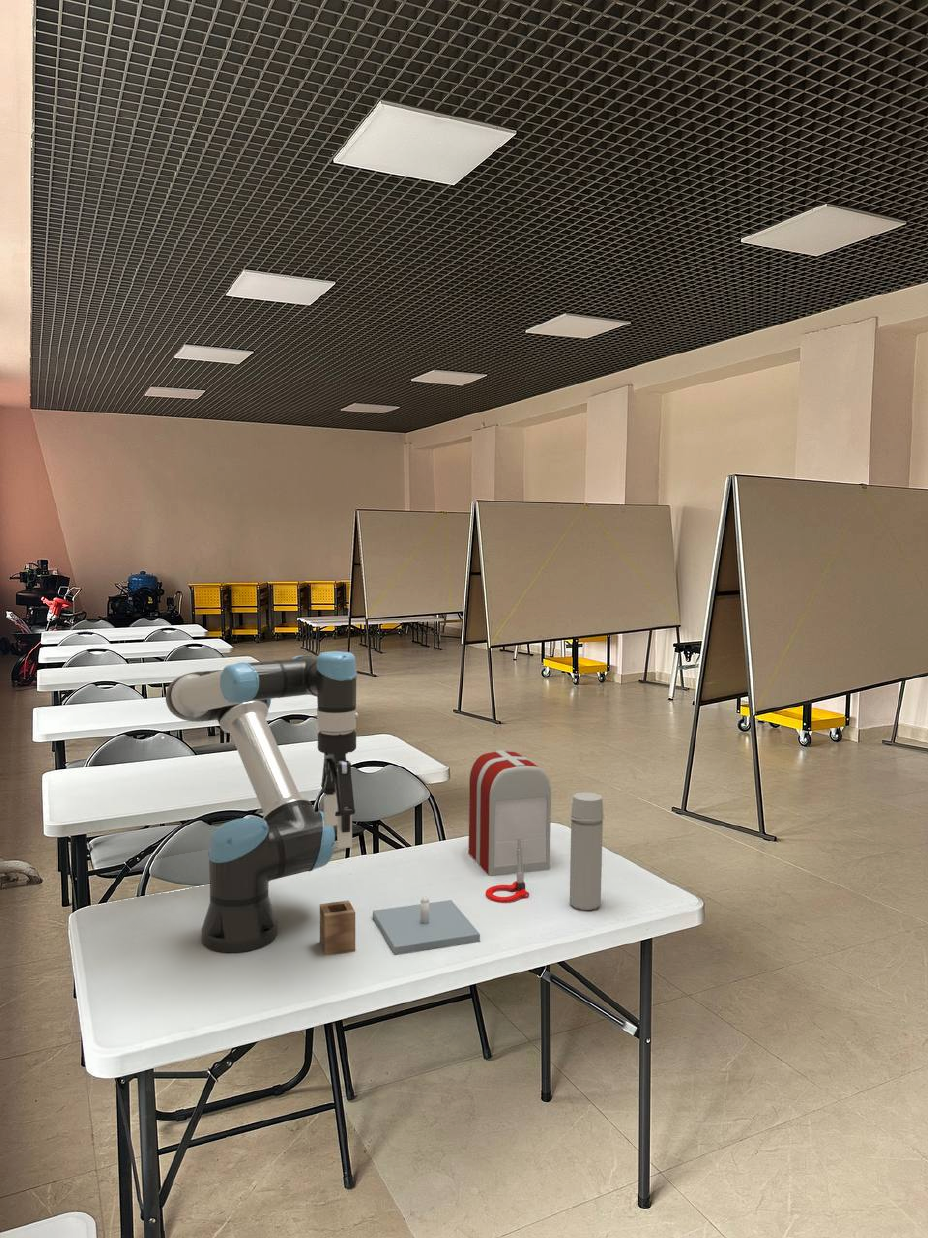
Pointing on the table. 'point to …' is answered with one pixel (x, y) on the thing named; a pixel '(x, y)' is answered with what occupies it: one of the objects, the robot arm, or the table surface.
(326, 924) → the block
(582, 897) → the water bottle
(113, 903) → the table surface
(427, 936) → the pin plate
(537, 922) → the table surface
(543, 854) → the striped mailbox
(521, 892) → the tow hook
